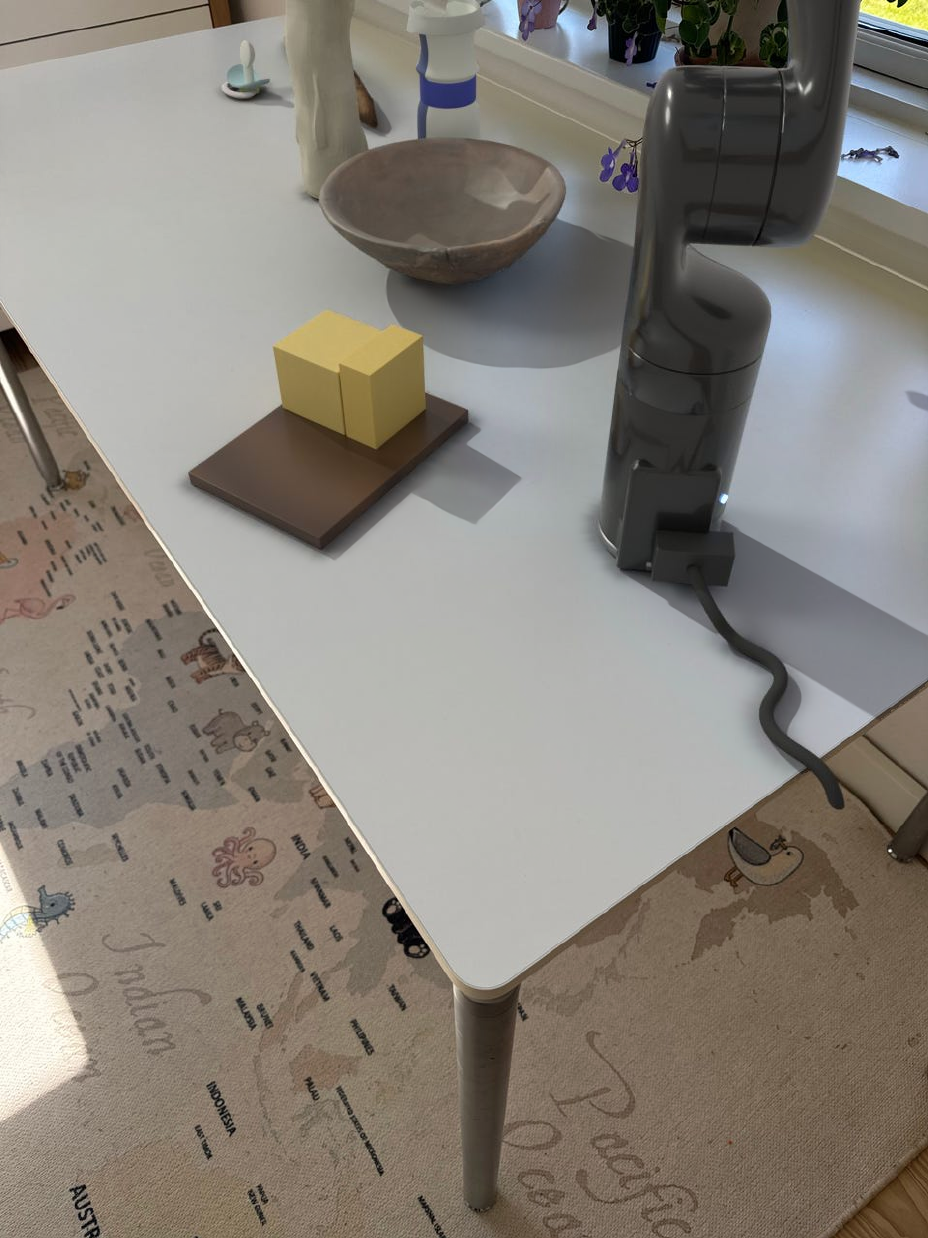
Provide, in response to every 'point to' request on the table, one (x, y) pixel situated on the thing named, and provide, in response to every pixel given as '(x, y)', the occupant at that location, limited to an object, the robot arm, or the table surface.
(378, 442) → the butter slice
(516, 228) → the bowl
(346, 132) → the vase
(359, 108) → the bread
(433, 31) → the water bottle
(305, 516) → the butter board
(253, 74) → the pacifier
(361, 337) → the butter block
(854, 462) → the table surface
